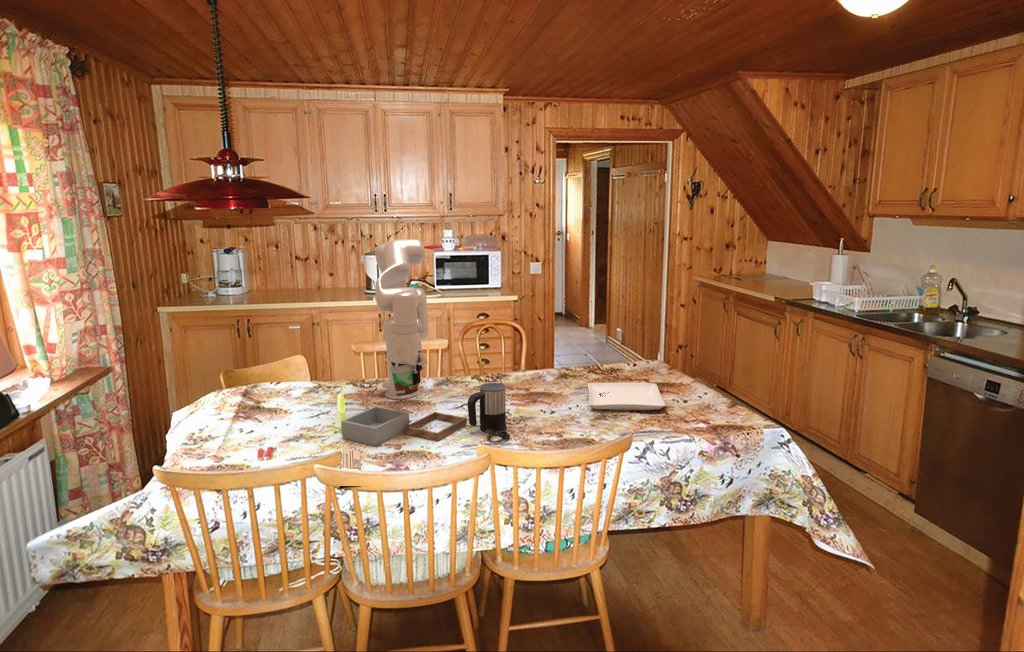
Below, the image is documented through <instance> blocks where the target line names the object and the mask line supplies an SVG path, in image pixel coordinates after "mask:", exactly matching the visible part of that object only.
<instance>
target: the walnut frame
mask: <svg viewBox="0 0 1024 652" xmlns="http://www.w3.org/2000/svg"><path fill="white" fill-rule="evenodd" d="M467 418H468V417H463V416H458V415H453V414H447V413H444V412H443V413H442V412H437V411H434V412H431V413H429V414H428V415H425V416H423V417H422V418H420V419H418V420H416V421H414V422H412V423H409V425H408V426H406V427H405V432H404V434H405V435H408V436H411V437H417V438H421V439H425V438H426V440H430V439H431V440H432V441H434V440H436V441H435V442H440V441H441V439H442V440H443V439H445V438H447V437H448V435H449V436H450V435H452V434H453V432H454V433H455V432H457V431H459V430H460V428H461V427H462V428H464V427H466V426H467V425H468V419H467ZM435 419H438V420H437V421H440V420H442V421H441V422H445V421H447V422H446V423H450V422H453V423H451V425H448V426H447V427H446V428H443V429H442V430H439V431H438V432H435V431H431V430H425V429H421V428H422V427H424V426H426V425H428V424H430V423H432V422H434V421H435ZM433 420H434V421H433ZM431 421H432V422H431ZM429 422H430V423H429ZM427 423H428V424H427ZM466 424H467V425H466ZM465 425H466V426H465ZM463 426H464V427H463ZM462 428H461V429H462ZM458 429H459V430H458ZM456 430H457V431H456ZM446 436H447V437H446ZM431 440H430V441H431ZM439 440H440V441H439Z"/></svg>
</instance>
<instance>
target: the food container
mask: <svg viewBox="0 0 1024 652" xmlns="http://www.w3.org/2000/svg"><path fill="white" fill-rule="evenodd" d="M416 368H417V365H416ZM413 370H414V369H413V366H410V365H403V364H399V365H398V366H397V367H391V373H392V375H393V380H394V385H395V391H396V396H401V395H408V394H412V393H415V392H417V393H418V391H419V383H418V384H416V385H413V373H414V371H413Z"/></svg>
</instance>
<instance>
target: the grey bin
mask: <svg viewBox="0 0 1024 652" xmlns="http://www.w3.org/2000/svg"><path fill="white" fill-rule="evenodd" d="M340 422H341V423H340V424H341V434H342V435H341V438H342V439H344V440H349V441H352V442H356V443H361V444H365V445H369V446H372V447H373V446H374V447H379V446H380V445H382V444H384V443H386V442H388V441H390V440H391V439H394V438H395V437H398V436H400V435H401V434H403V433H404V434H405V427H406V426H408V425H410V414H409V412H408V411H403V410H398V409H393V408H387V407H383V406H377V405H374V406H372V407H370V408H368V409H366V410H363V411H362V412H359V413H356V414H355V415H352V416H349V417H346V418H345V419H343V420H341V421H340Z"/></svg>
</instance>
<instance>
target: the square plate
mask: <svg viewBox="0 0 1024 652" xmlns="http://www.w3.org/2000/svg"><path fill="white" fill-rule="evenodd" d="M587 388H588V396H589V397H588V405H589V406H590V407H592V409H595V410H605V409H609V410H608V411H623V410H622V409H625V410H624V411H652V410H653V411H654V410H661V409H662V408H663V407H666V402H665V401H664V398H663V397H662V395H661V392H660V390H659V387H658V384H657V383H652V382H651V383H648V382H646V383H645V382H589V383H587ZM599 392H600V393H603V392H605V393H606V394H605V393H604V394H605V395H606V396H605V395H604V394H603V395H604V396H605V397H604V396H603V397H602V396H601V397H600V395H599V394H600V393H599ZM608 392H609V393H608ZM607 393H608V394H607ZM619 409H620V410H619Z"/></svg>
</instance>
